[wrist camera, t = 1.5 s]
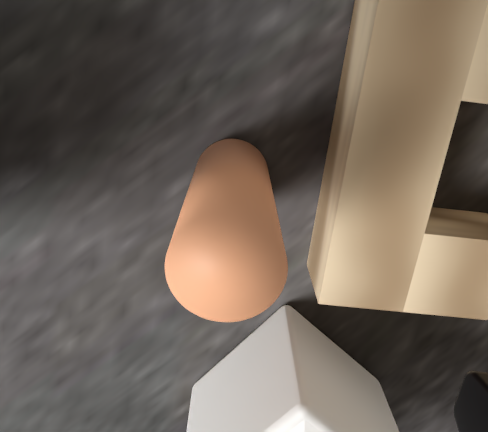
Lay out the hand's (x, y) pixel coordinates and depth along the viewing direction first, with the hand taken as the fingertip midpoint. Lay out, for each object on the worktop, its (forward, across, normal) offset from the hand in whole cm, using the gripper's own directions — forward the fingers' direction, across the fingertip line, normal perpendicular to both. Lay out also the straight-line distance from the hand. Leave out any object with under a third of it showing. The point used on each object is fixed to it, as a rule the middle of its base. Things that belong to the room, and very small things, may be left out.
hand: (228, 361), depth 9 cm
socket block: (+13, -10, -2) cm, 16 cm away
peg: (+13, 0, 0) cm, 13 cm away
